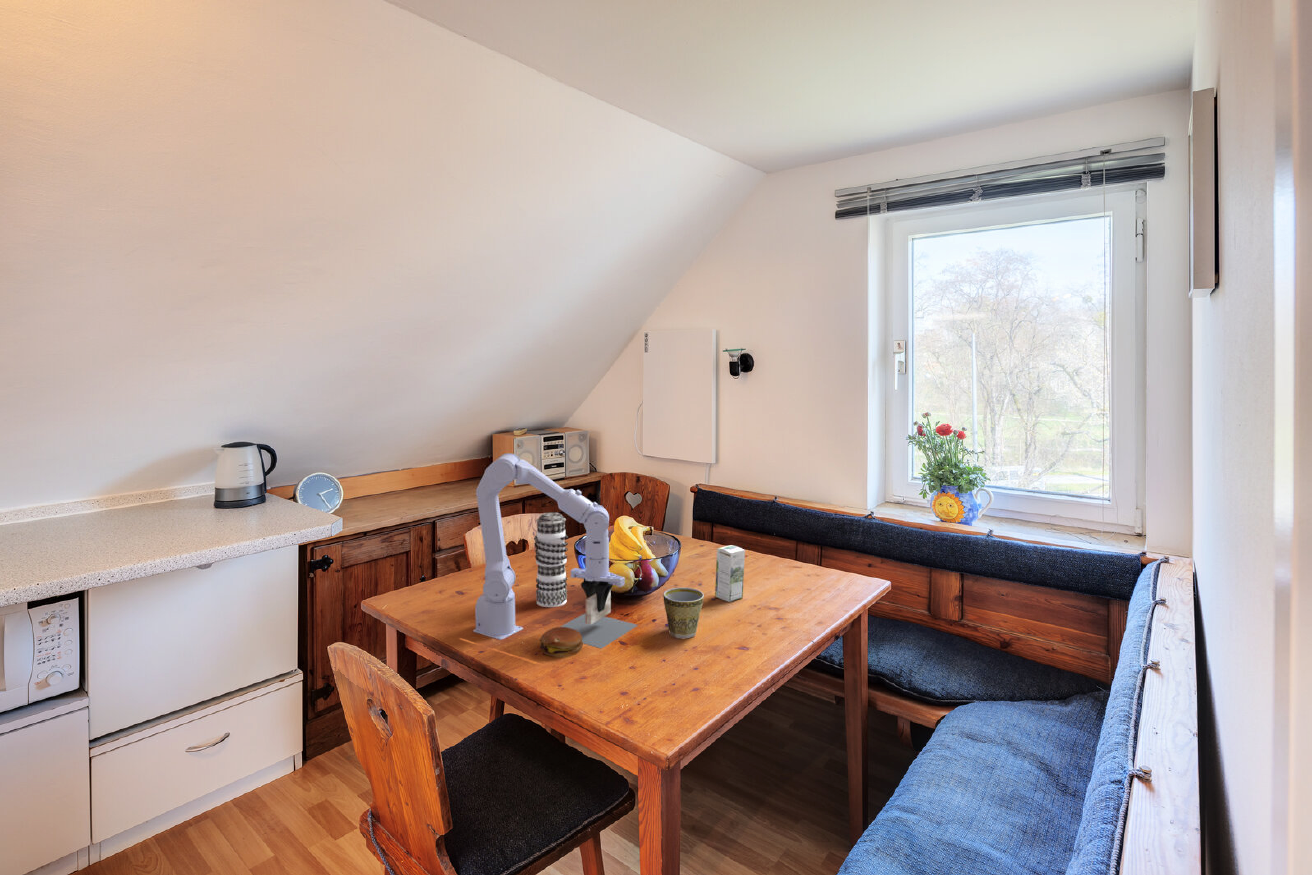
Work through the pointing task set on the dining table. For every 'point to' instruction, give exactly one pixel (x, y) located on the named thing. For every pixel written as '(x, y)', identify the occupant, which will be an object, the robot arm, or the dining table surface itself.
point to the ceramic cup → (683, 611)
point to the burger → (561, 642)
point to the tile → (592, 611)
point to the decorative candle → (551, 560)
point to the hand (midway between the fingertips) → (597, 609)
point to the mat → (599, 630)
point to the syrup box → (729, 573)
